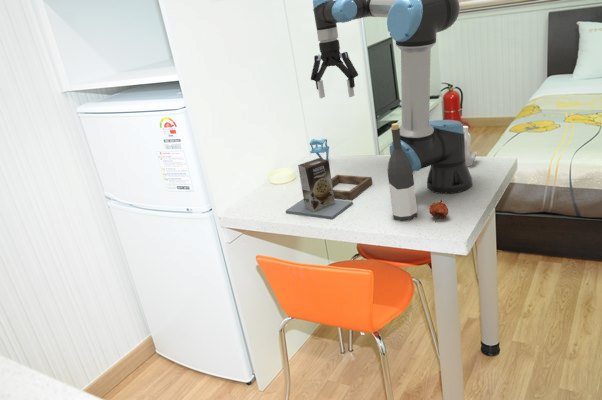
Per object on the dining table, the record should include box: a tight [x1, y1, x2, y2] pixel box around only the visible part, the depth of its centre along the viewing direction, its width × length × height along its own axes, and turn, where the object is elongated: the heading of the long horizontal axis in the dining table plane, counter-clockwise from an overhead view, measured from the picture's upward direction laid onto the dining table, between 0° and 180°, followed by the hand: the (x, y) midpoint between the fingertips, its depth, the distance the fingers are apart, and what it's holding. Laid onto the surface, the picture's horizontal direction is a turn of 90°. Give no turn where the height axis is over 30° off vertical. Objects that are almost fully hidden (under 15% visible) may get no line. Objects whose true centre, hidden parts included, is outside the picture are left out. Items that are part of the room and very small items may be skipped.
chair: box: [309, 138, 330, 162], centre depth 225 cm, size 8×8×12 cm
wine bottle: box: [387, 122, 418, 222], centre depth 157 cm, size 8×8×30 cm
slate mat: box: [285, 198, 354, 220], centre depth 180 cm, size 20×13×1 cm, turn 54°
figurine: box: [463, 125, 478, 167], centre depth 193 cm, size 7×9×15 cm
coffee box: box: [297, 157, 336, 212], centre depth 176 cm, size 9×6×16 cm
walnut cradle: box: [331, 174, 373, 201], centre depth 191 cm, size 15×15×3 cm
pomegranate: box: [428, 199, 449, 223], centre depth 155 cm, size 6×6×8 cm
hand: (336, 97), depth 198 cm, fingers open, 13 cm apart
